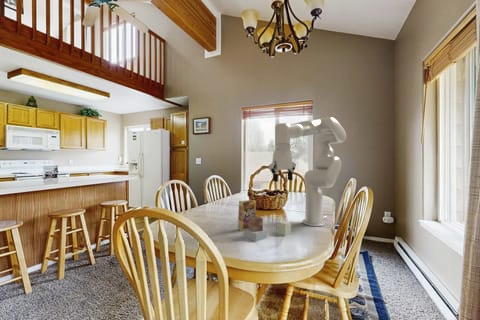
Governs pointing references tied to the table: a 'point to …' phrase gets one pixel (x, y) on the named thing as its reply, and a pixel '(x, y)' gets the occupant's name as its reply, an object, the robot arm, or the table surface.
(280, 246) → the table surface
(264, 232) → the pedestal block
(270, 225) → the table surface
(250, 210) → the candy box
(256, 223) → the walnut block
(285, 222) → the sage block
